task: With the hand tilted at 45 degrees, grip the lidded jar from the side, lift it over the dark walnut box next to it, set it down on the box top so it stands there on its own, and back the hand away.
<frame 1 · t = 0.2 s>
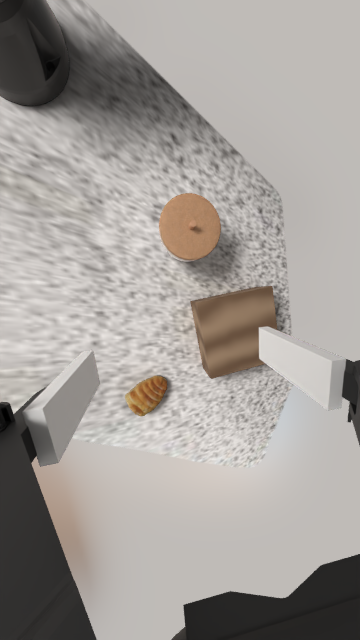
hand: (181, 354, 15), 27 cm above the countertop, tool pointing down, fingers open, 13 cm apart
walnut box: (229, 327, 45), on the countertop
pastry: (146, 391, 44), on the countertop
lidded jar: (182, 239, 40), on the countertop
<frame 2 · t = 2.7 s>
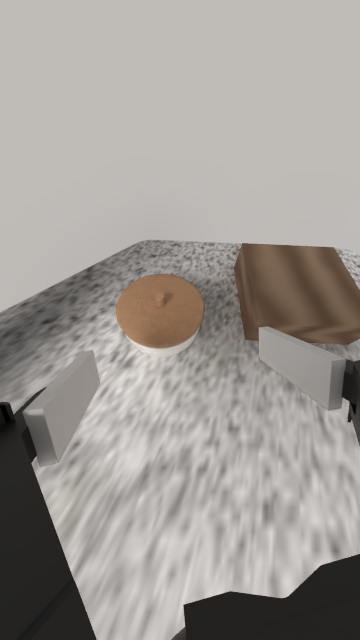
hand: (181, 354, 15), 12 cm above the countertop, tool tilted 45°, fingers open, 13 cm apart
walnut box: (282, 302, 34), on the countertop
lidded jar: (163, 335, 30), on the countertop
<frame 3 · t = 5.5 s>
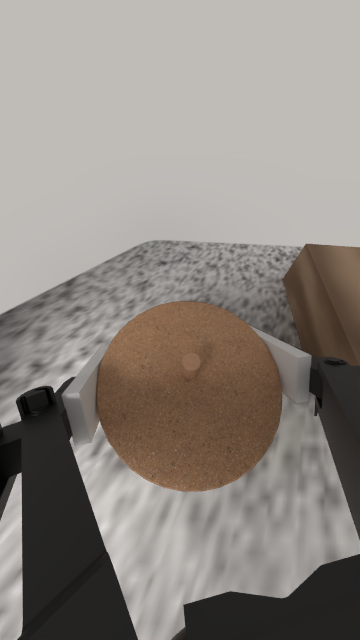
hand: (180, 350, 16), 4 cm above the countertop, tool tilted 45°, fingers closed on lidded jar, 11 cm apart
lidded jar: (184, 397, 18), on the countertop, touching gripper
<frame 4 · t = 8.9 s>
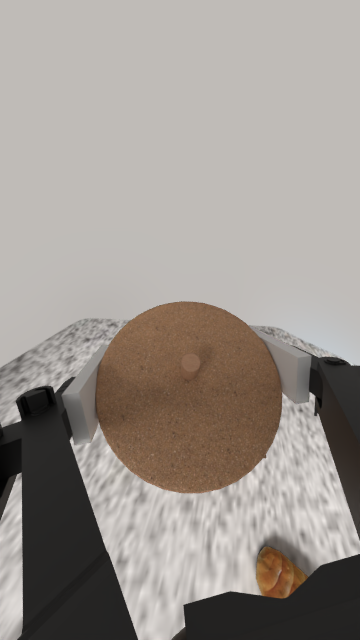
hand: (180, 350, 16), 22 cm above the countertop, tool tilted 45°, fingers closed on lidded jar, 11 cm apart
pastry: (288, 603, 23), on the countertop
lidded jar: (183, 398, 18), point 18 cm above the countertop, touching gripper
when the fingers open (12 cm above the countertop, at t = 12.2 s): lidded jar drops 2 cm, resting on walnut box.
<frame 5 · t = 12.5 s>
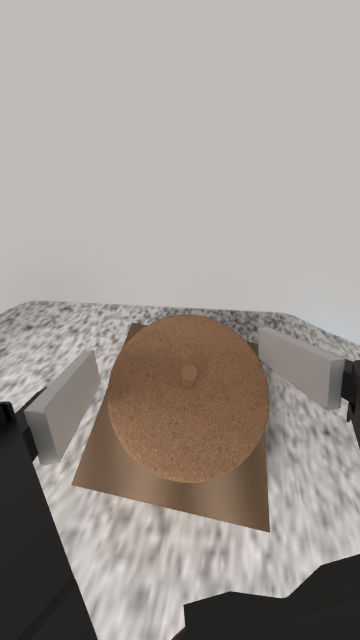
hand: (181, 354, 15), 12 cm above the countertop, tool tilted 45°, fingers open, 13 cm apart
walnut box: (181, 409, 24), on the countertop, touching lidded jar
lidded jar: (184, 400, 19), point 5 cm above the countertop, touching walnut box
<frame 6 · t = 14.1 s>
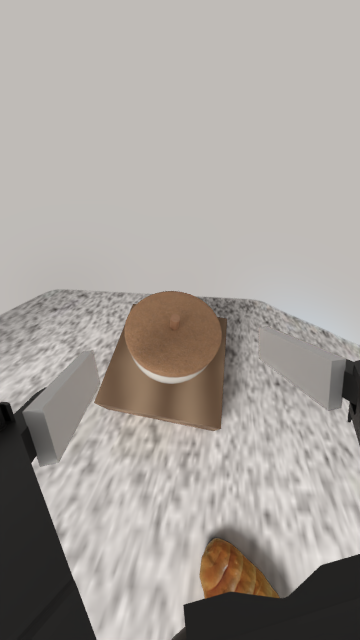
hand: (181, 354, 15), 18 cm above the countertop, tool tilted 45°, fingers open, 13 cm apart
walnut box: (170, 368, 33), on the countertop
pastry: (239, 604, 20), on the countertop
lidded jar: (170, 355, 27), point 6 cm above the countertop
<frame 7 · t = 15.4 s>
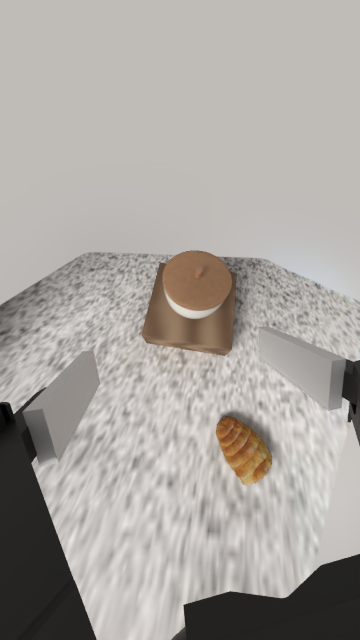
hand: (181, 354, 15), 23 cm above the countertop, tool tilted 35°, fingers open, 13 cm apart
walnut box: (190, 314, 42), on the countertop, touching lidded jar
pastry: (239, 447, 32), on the countertop
lidded jar: (191, 302, 36), point 6 cm above the countertop, touching walnut box
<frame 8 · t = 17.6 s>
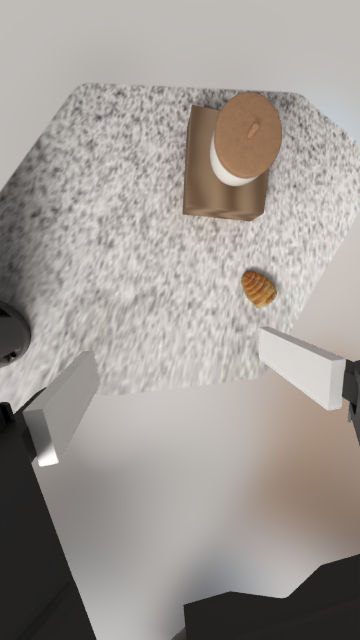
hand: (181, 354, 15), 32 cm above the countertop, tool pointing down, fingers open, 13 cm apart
walnut box: (220, 179, 42), on the countertop
pastry: (255, 290, 49), on the countertop
lidded jar: (229, 164, 37), point 5 cm above the countertop
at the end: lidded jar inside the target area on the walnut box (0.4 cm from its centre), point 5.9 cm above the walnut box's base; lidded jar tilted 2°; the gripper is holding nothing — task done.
